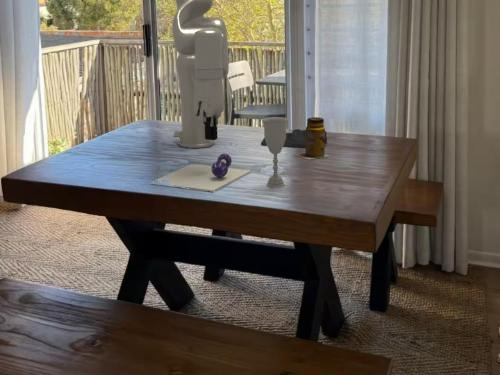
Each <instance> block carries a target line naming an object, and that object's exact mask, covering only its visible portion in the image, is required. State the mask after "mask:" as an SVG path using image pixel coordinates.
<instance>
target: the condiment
mask: <svg viewBox="0 0 500 375" xmlns="http://www.w3.org/2000/svg"><path fill="white" fill-rule="evenodd" d="M324 121H325V119H324V118H322V117H318V116H317V117H309V118H308V117H307V119H306V122H307V123H306V126H305V130H306V149H305V153H297V154H296V156H297V157H298V158H303V159H306V160H314V159H320V158H326V157H330V156H331V155H330V154H329V155H328V154H325V152H326V151H325V149H326V148H325V146H326V144H325V131H326V127H325V124H324V123H325V122H324Z"/></svg>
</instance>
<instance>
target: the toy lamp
mask: <svg viewBox="0 0 500 375" xmlns="http://www.w3.org/2000/svg"><path fill="white" fill-rule="evenodd" d="M231 165H232V157H231V156H230V155H229V154H227V153H222V154H220V155H219V156H218V158H217V161H215V162H214V163H213V164H212V165H211V166H212V168H211V170H212V173H213V175H214V176H216V177H224V176H225V175H226V174H227V172H228V168H230V166H231Z"/></svg>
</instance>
